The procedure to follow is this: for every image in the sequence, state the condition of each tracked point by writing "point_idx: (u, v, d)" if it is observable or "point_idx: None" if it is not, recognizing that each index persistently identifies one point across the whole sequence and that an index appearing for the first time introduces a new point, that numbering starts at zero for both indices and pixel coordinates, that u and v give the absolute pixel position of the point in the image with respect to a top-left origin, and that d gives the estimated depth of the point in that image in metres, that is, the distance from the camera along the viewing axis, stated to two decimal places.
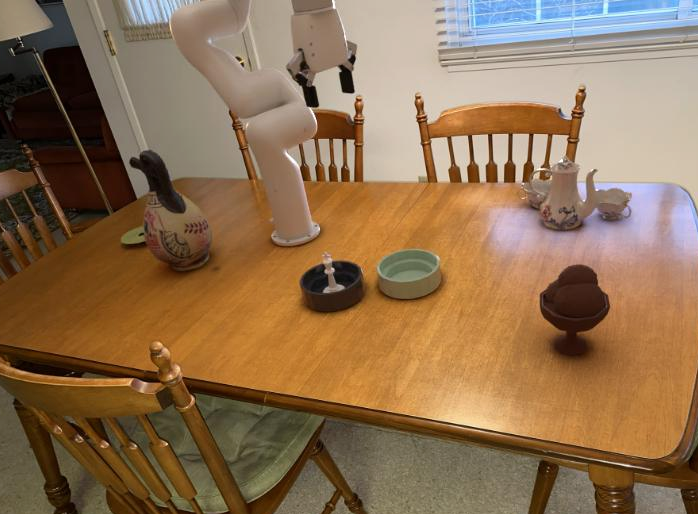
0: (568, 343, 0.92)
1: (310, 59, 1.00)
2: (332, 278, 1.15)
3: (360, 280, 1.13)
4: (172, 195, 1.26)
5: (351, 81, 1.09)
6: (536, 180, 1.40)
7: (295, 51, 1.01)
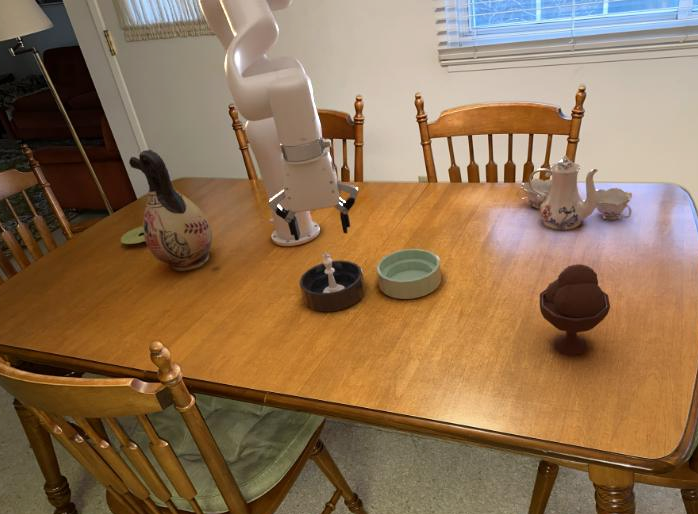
0: (568, 343, 0.92)
1: (286, 200, 1.03)
2: (332, 278, 1.15)
3: (360, 280, 1.13)
4: (172, 195, 1.26)
5: (342, 223, 1.06)
6: (536, 180, 1.40)
7: None
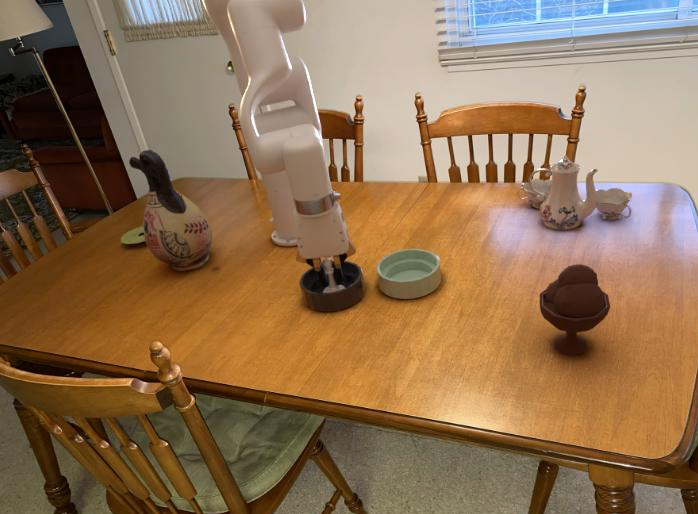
0: (568, 343, 0.92)
1: (298, 248, 1.09)
2: (332, 278, 1.15)
3: (360, 280, 1.13)
4: (172, 195, 1.26)
5: (336, 276, 1.13)
6: (536, 180, 1.40)
7: None
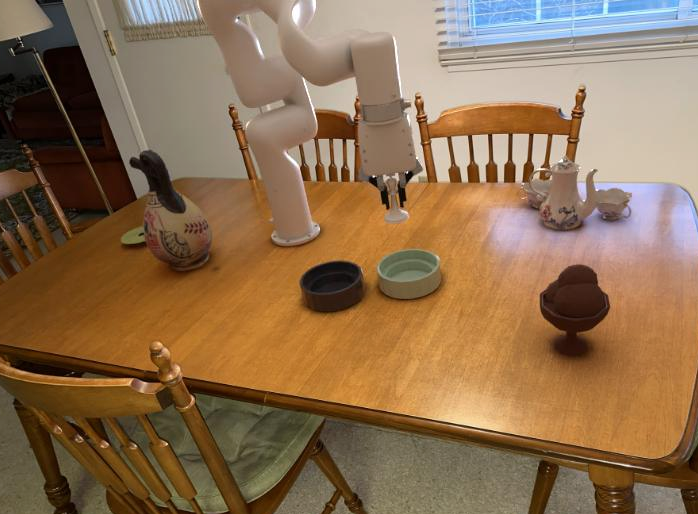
0: (568, 343, 0.92)
1: (362, 164, 1.01)
2: (395, 200, 1.06)
3: (360, 280, 1.13)
4: (172, 195, 1.26)
5: (400, 197, 1.05)
6: (536, 180, 1.40)
7: None
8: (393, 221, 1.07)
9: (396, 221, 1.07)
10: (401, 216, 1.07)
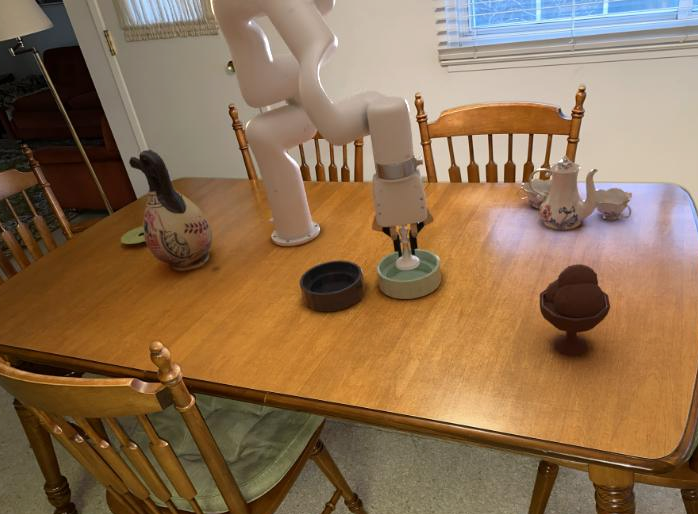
0: (568, 343, 0.92)
1: (376, 216, 1.06)
2: (407, 248, 1.12)
3: (360, 280, 1.13)
4: (172, 195, 1.26)
5: (412, 245, 1.11)
6: (536, 180, 1.40)
7: None
8: (405, 267, 1.13)
9: (408, 268, 1.13)
10: (412, 263, 1.13)
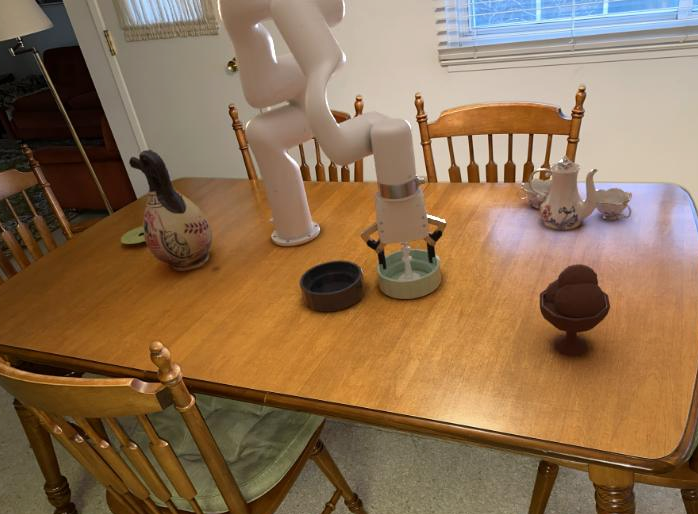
0: (568, 343, 0.92)
1: (379, 233, 1.09)
2: (409, 266, 1.15)
3: (360, 280, 1.13)
4: (172, 195, 1.26)
5: (429, 254, 1.12)
6: (536, 180, 1.40)
7: None
8: None
9: None
10: None
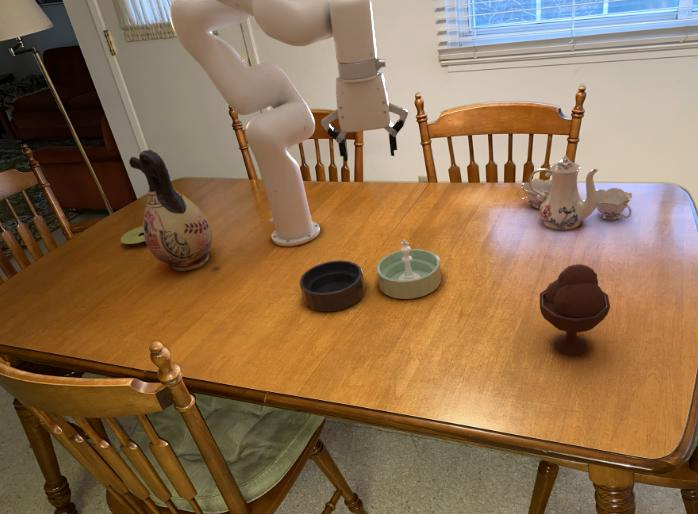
0: (568, 343, 0.92)
1: (339, 120, 1.07)
2: (409, 266, 1.15)
3: (360, 280, 1.13)
4: (172, 195, 1.26)
5: (391, 145, 1.11)
6: (536, 180, 1.40)
7: None
8: None
9: None
10: None
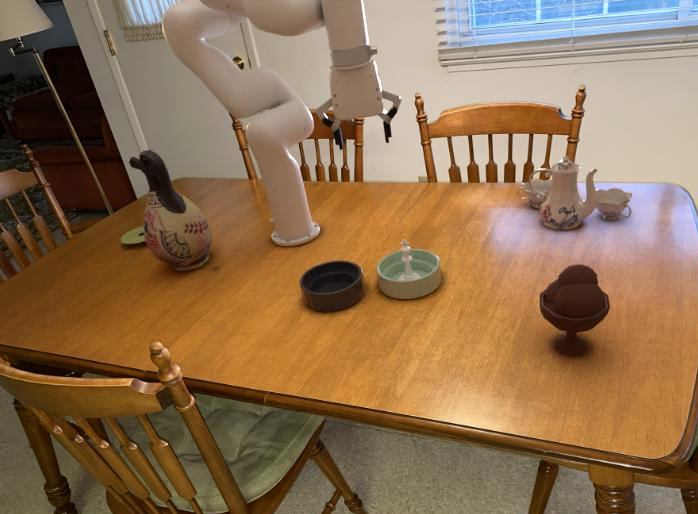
0: (568, 343, 0.92)
1: (333, 108, 1.09)
2: (409, 266, 1.15)
3: (360, 280, 1.13)
4: (172, 195, 1.26)
5: (385, 132, 1.12)
6: (536, 180, 1.40)
7: None
8: None
9: None
10: None
